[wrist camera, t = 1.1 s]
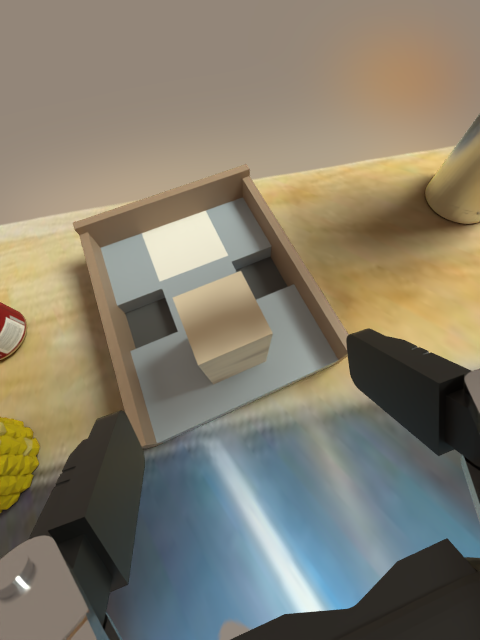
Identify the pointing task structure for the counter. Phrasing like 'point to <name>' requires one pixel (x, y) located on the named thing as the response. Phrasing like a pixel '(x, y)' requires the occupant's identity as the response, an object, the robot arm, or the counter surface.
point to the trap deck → (190, 273)
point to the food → (15, 460)
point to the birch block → (224, 327)
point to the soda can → (11, 330)
